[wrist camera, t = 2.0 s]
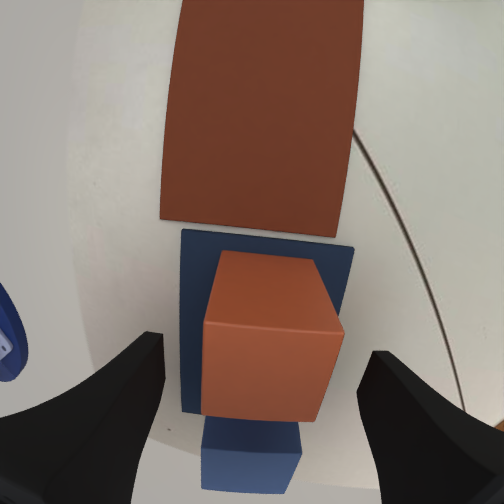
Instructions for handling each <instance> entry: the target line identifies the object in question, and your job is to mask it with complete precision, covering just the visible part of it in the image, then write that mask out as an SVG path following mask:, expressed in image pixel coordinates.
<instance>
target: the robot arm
mask: <svg viewBox="0 0 504 504" xmlns="http://www.w3.org/2000/svg"><path fill="white" fill-rule="evenodd" d="M12 349H13V344H12V343H11V341H10V340H9V339H8V337H7V336H6V335H5V334H4V332H3V331H2V330H1V329H0V360H1V359H2V358H3V357H5V356H6V355H7V354H8V353H9V352H10V351H11V350H12ZM165 379H166V377H165V362H164V343H163V334H161V333H154V332H148V331H145V332H144V333H143V334H142V335H140V336H139V337H138V338H137V339H136V340H135V341H134V342H132V343H131V344H130V345H129V346H128V347H127V348H126V349H124V350H123V351H122V352H121V353H120V354H118V355H117V356H116V357H115V358H114V359H112V360H111V361H110V362H109V363H107V364H106V365H105V366H104V367H102V368H101V369H100V370H98V371H97V372H96V373H94V374H93V375H92V376H90V377H89V378H87V379H86V380H84V381H83V382H81V383H80V384H78V385H77V386H75V387H73V388H71V389H70V390H68V391H66V392H65V393H63V394H61V395H59V396H57V397H55V398H53V399H51V400H48V401H46V402H44V403H42V404H40V405H38V406H35V407H32V408H30V409H27V410H24V411H21V412H18V413H15V414H12V415H9V416H5V417H2V418H0V504H131V498H132V492H133V488H134V482H135V478H136V473H137V469H138V464H139V460H140V457H141V453H142V451H143V448H144V445H145V442H146V440H147V437H148V434H149V432H150V429H151V426H152V423H153V421H154V418H155V415H156V412H157V410H158V407H159V404H160V401H161V396H162V392H163V388H164V383H165ZM356 393H357V399H358V406H359V411H360V416H361V420H362V423H363V426H364V429H365V432H366V436H367V439H368V442H369V445H370V448H371V451H372V455H373V458H374V461H375V465H376V469H377V473H378V479H379V485H380V492H381V500H382V504H504V432H503V431H500V430H498V429H496V428H494V427H491V426H489V425H487V424H485V423H483V422H481V421H480V420H478V419H476V418H474V417H472V416H471V415H469V414H467V413H466V412H464V411H463V410H461V409H460V408H458V407H456V406H455V405H454V404H452V403H451V402H449V401H448V400H447V399H445V398H444V397H443V396H441V395H440V394H439V393H438V392H436V391H435V390H434V389H433V388H431V387H430V386H429V385H428V384H427V383H425V382H424V381H423V380H422V379H421V378H420V377H418V376H417V375H416V374H415V373H414V372H413V371H412V370H410V369H409V368H408V367H407V366H406V365H405V364H404V363H402V362H401V361H400V360H399V359H398V358H397V357H395V356H394V355H393V354H392V353H390V352H389V351H373V352H372V354H371V357H370V360H369V362H368V365H367V367H366V370H365V372H364V375H363V377H362V380H361V382H360V385H359V387H358V389H357V392H356Z"/></svg>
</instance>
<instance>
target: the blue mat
mask: <svg viewBox="0 0 504 504" xmlns="http://www.w3.org/2000/svg"><path fill="white" fill-rule="evenodd" d="M222 250H227V251H237V252H246V253H256V254H266V255H275V256H285V257H294V258H304V259H312V260H313V261H314V263H315V265H316V268H317V270H318V272H319V274H320V277H321V279H322V281H323V283H324V286H325V288H326V290H327V292H328V295H329V297H330V299H331V302H332V304H333V306H334V309H335V311H336V313H337V316H339V312H340V308H341V304H342V300H343V296H344V292H345V288H346V284H347V280H348V276H349V272H350V268H351V263H352V259H353V255H354V250H355V249H354V248H353V247H349V246H341V245H332V244H323V243H314V242H306V241H297V240H288V239H278V238H269V237H260V236H251V235H241V234H231V233H222V232H212V231H202V230H192V229H182V231H181V256H180V378H181V403H182V412H186V413H193V414H201V381H202V346H203V322H204V318H205V314H206V310H207V306H208V302H209V298H210V294H211V290H212V286H213V282H214V279H215V275H216V271H217V267H218V263H219V259H220V256H221V252H222ZM201 415H202V414H201Z"/></svg>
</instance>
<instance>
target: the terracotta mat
mask: <svg viewBox="0 0 504 504" xmlns="http://www.w3.org/2000/svg"><path fill="white" fill-rule="evenodd" d="M363 10H364V0H183V2H182V7H181V13H180V18H179V24H178V30H177V36H176V42H175V49H174V55H173V62H172V70H171V77H170V85H169V94H168V103H167V112H166V122H165V134H164V146H163V159H162V175H161V195H160V219H163V220H174V221H185V222H195V223H206V224H216V225H225V226H235V227H245V228H254V229H264V230H273V231H282V232H291V233H299V234H308V235H317V236H325V237H333V238H335V237H336V233H337V228H338V222H339V217H340V211H341V206H342V200H343V194H344V188H345V182H346V175H347V169H348V162H349V155H350V148H351V141H352V134H353V126H354V118H355V109H356V100H357V91H358V81H359V70H360V58H361V45H362V30H363Z"/></svg>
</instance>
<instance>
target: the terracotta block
mask: <svg viewBox="0 0 504 504" xmlns="http://www.w3.org/2000/svg"><path fill="white" fill-rule="evenodd" d="M344 334H345V333H344V330H343V327H342V325H341V323H340V320H339V318H338V316H337V313H336V311H335V309H334V306H333V304H332V302H331V299H330V297H329V295H328V292H327V290H326V288H325V286H324V283H323V281H322V279H321V277H320V274H319V272H318V270H317V268H316V265H315V263H314V261H313V260H312V259H304V258H294V257H285V256H275V255H266V254H256V253H246V252H237V251H227V250H222V252H221V256H220V259H219V263H218V267H217V271H216V275H215V279H214V282H213V286H212V290H211V294H210V298H209V302H208V306H207V310H206V314H205V318H204V322H203V346H202V381H201V414H202V415H206V416H215V417H224V418H235V419H247V420H262V421H285V422H314V421H315V419H316V417H317V414H318V411H319V409H320V406H321V403H322V401H323V398H324V395H325V392H326V389H327V387H328V384H329V381H330V378H331V375H332V372H333V369H334V366H335V363H336V360H337V357H338V354H339V351H340V347H341V344H342V341H343V338H344Z"/></svg>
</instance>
